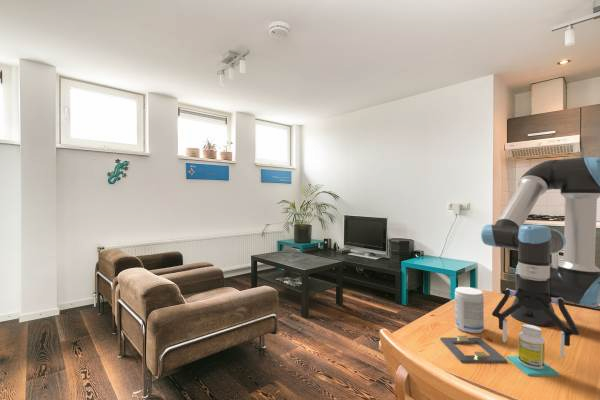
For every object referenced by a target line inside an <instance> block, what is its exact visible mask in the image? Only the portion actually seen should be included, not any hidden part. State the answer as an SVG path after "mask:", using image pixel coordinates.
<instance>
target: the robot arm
mask: <svg viewBox="0 0 600 400" xmlns="http://www.w3.org/2000/svg"><path fill="white" fill-rule="evenodd" d="M548 190H549V191H550V190H560V195H561V196H562V197H564V198H565V201H564V202H565V203H564V205H565V207H564V231H563V232H564V234H563V232H562V231H559V230H557V229H555V228H550V226H546V225H540V224H539V225H538V224H525V223H526V221H527V219H528V217H529V215H530V214H531V212H532V210H533V209H534V207H535V205H536V204H537V202H538V200H539V198H540V196H542V195H544V194H545V193H546V192H547V191H548ZM599 198H600V157H598V156H596V157H595V156H593V157H592V156H591V157H589V156H588V157H587V156H586V157H576V158H573V157H572V158H563V159H550V160H546V161H542V162H540V163H538V164H536V165H534V166H533V167H531V168H530V169H528V170H527V171H525V172H524V174H522V176H521V177H520V179H519V180H518V183H517V188H516V191H514V193H513V194H512V197H511V198H510V200H508V203H507V204H506V206H505V208H504V209H503V211H502V212H501V214H500V215H499V217H498V219H497V220H496V222H495V223H494V224H492V223H491V224H486V225H484V226H483V227H482V229H481V232H480V233H481V234H480V235H481V236H480V237H481V241H482V242H483V244H484V245H486V246H491V247H495V248H502V249H503V248H505V249H511V250H512V249H513V250H518V251H517V252H518V253H517V254H518V255H517V256H518V257H517V259H518V260H517V265H516V267H515V273H514V274H515V290H514V289H511V288H510V287H506V288H505V290H504V295H503V297H502V298H501V300H500V301H499V302H498V304H497V305H496V307H495V308H494V310H493V311H492V314H491V315H492V316H493V317H496V318H497V319H498V329H499V330H502V342H504V343H506V342H507V340H508V318H507V317H509V316H511V317H512V318H514V319H515V320H517V321H519V322H523V323H527V324H528V325H533V326H542V327H551V326H552V327H553V326H557V327H558V328H559V329H560V330H561V331H560V352H559V353H560V354H559V355H560V358H562V359H564V358H565V346H566V347H570V345H571V343H570V342H571V336H573V335H574V336H579V335H580V331H579V328H578V326H577V324H576V323H575V321H574V320H573V318H572V316H571V314H570V313H569V310H568V309H567V307H566V305H565V302H569V303H573V304H576V305H577V304H578V305H580V306H587V307H592V308H596V307H598V306H600V268H599V267H598V266H596V261H595V260H596V242H597V241H596V236H597V211H598V210H597V209H598V208H597V207H598V206H597V205H598V199H599ZM562 249H563V261H561V262H560V263H558V264H557V267H556V268H555V267H553V264H552V263H551V254H554V253H555V254H557V253H558V252H560V251H561V250H562ZM513 296H515V297H514V299H513V302H512V304H511V305H510V306H509V307H508V308H506V309H505V310H504V311H503V312H501V313H500V311H501V310H502V309H503V307H504V305H505V304H506V303H507V301H508V300H509V298H512V297H513ZM552 303H554V305H555V306H557V307H558V309H559V310H560V312H561V314H562V317H563V318H564V319H565V321H566V323H567V324H568V326H569V327H568V326H566V324H565V323H564V322H563V321H562V319H561V318H560V317H559V316H558V315H557V314H556V312H555V310H554V309H555V308H554V306H553V304H552Z"/></svg>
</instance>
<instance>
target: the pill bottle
mask: <svg viewBox="0 0 600 400" xmlns="http://www.w3.org/2000/svg"><path fill="white" fill-rule="evenodd" d="M518 356H519V361H520V363H522V364H523V365H525V366H527V367H529V368H533V369H542V368H544V363H545V338H544V337H543V336H542V328H540V327H539V326H537V325H534V324H523V325H521V331H520V332H519V333H518Z"/></svg>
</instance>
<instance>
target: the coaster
mask: <svg viewBox="0 0 600 400" xmlns="http://www.w3.org/2000/svg"><path fill="white" fill-rule="evenodd" d="M505 359H507V361H509V362H511V363H512V364H513V365H514V366H515V367H517V368H518V370H520V371H521V372H523V373H525V375H526V376H529V377H530V376H531V377H532V376H534V377H535V376H537V377H538V376H539V377H541V376H543V377H544V376H547V377H549V376H550V377H551V376H552V377H553V376H555V375H557V376H558V375H560V372H558V370H556V369H554V368H553V367H551V366H550V365H548V363H546V362H544V368H542V369H533V368H529V367H527V366H525V365H523V364H522V363H520V361H519V355H506V357H505ZM560 376H561V375H560Z"/></svg>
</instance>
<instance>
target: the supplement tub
mask: <svg viewBox="0 0 600 400" xmlns="http://www.w3.org/2000/svg"><path fill="white" fill-rule="evenodd" d="M484 303H485V302H484V292H483V290H481V289H478V288H476V287H469V286H457V287H455V289H454V320H455V323H454V324H455V327H456V328H457V329H459V330H460V331H463V332H465V333H470V334H480V333H482V332H483V331H484V327H485V325H484V323H485V322H484V321H485V320H484V319H485V318H484V317H485V315H484V314H485V312H484V310H485V309H484Z"/></svg>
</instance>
